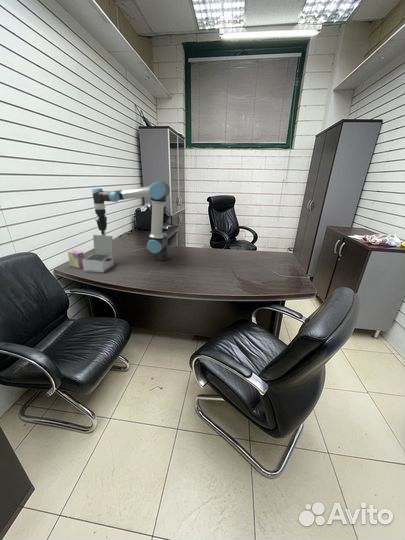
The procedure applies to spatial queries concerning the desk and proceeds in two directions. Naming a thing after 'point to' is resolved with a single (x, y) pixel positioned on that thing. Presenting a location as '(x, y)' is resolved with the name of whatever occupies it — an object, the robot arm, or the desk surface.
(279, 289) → the desk surface
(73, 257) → the box
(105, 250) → the lid
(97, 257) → the grey boxy piece
